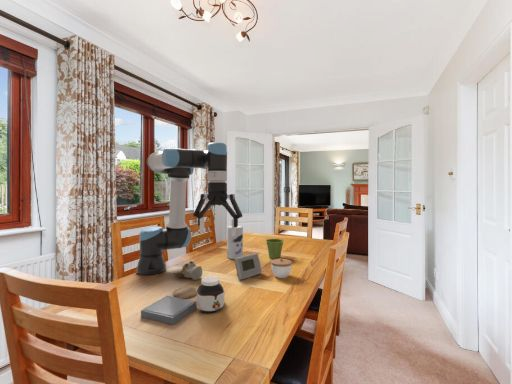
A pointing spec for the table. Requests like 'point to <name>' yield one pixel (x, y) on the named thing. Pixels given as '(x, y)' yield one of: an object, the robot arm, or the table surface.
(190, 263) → the ceramic sculpture
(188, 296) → the oak coaster
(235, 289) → the table surface
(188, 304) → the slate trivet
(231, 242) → the container
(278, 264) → the lidded jar
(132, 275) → the table surface
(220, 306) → the spread jar
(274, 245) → the plant pot
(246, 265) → the digital clock
